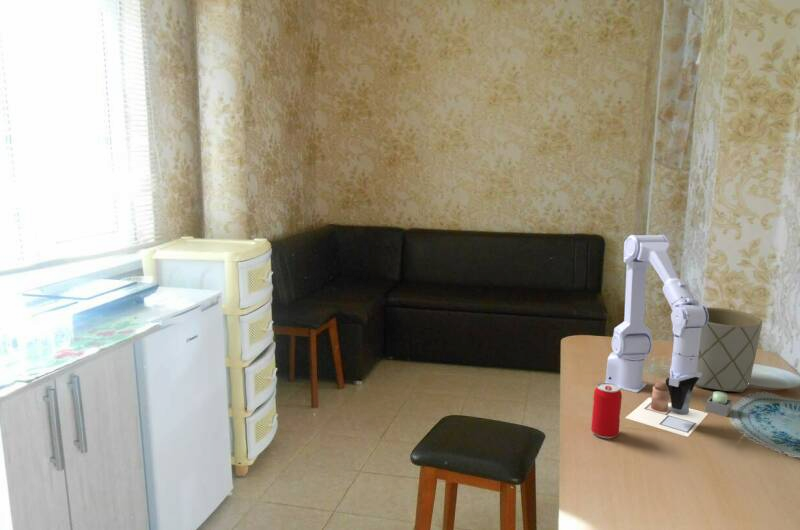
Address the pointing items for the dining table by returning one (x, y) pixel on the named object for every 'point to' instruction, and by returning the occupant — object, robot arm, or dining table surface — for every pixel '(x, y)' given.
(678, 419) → the picture sheet
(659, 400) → the brown jar
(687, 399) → the blue gray jar
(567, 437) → the dining table surface
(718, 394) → the button
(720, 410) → the button housing
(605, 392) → the beverage can
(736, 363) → the planter
